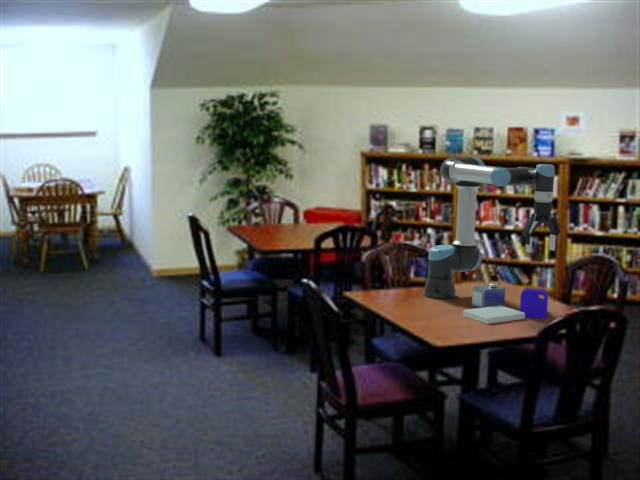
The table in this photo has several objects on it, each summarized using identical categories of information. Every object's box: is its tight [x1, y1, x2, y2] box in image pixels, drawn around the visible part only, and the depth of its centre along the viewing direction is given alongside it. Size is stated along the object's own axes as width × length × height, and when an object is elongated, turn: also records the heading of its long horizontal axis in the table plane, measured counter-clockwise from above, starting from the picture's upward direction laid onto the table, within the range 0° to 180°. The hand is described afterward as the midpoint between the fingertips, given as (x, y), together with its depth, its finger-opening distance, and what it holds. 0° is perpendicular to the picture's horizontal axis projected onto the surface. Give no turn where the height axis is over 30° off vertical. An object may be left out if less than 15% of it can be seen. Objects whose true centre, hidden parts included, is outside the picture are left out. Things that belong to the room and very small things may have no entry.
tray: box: [462, 305, 526, 325], centre depth 360 cm, size 15×21×3 cm
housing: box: [471, 283, 506, 309], centre depth 378 cm, size 8×13×10 cm, turn 121°
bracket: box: [519, 287, 549, 319], centre depth 369 cm, size 18×11×12 cm, turn 159°
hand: (540, 251), depth 361 cm, fingers open, 13 cm apart
